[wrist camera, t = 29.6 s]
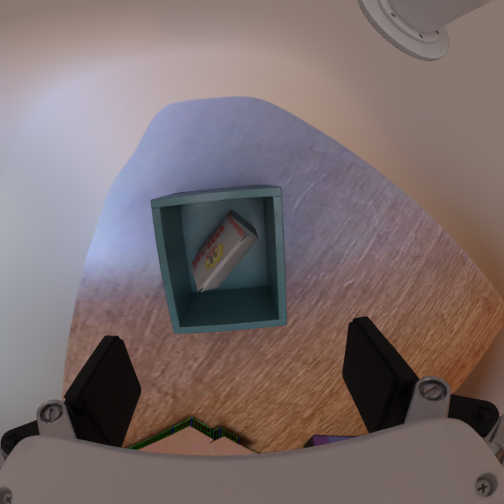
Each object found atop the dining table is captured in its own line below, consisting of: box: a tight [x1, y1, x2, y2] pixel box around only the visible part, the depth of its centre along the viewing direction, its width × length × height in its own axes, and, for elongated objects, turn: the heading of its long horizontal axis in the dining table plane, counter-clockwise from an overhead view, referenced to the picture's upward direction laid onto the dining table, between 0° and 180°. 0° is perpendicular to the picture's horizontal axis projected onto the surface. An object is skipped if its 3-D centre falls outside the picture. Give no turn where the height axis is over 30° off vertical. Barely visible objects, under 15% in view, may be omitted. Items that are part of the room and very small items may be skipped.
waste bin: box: [151, 185, 287, 334], centre depth 29 cm, size 14×12×10 cm
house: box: [127, 417, 258, 456], centre depth 42 cm, size 23×33×8 cm
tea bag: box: [190, 209, 259, 294], centre depth 28 cm, size 4×7×10 cm, turn 140°
